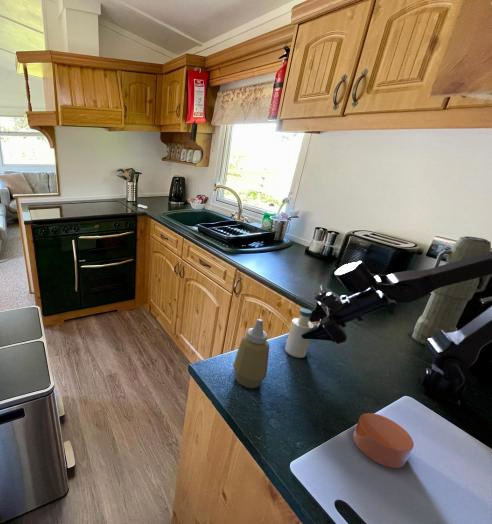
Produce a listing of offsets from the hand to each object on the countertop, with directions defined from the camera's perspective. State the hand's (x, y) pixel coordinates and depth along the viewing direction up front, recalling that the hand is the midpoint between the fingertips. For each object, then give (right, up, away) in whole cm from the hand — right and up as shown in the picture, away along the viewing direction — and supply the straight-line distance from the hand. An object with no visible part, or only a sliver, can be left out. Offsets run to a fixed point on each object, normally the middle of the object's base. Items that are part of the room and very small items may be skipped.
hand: (301, 329), depth 84 cm
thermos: (+48, -7, +11) cm, 50 cm away
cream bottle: (0, -7, +3) cm, 8 cm away
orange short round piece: (+1, -18, -26) cm, 31 cm away
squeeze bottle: (-19, -11, -9) cm, 24 cm away
